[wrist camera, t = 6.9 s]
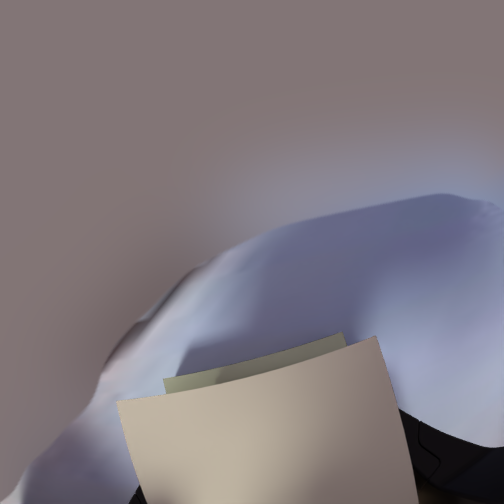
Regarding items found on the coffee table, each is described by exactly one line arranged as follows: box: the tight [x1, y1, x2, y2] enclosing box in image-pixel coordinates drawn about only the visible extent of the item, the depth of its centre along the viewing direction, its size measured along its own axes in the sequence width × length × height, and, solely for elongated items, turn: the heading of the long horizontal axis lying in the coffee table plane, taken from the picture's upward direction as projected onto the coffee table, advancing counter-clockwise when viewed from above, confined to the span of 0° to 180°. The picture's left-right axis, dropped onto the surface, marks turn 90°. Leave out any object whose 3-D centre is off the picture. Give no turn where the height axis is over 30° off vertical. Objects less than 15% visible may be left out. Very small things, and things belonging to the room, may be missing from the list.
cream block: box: [116, 336, 419, 504], centre depth 8 cm, size 5×5×10 cm
